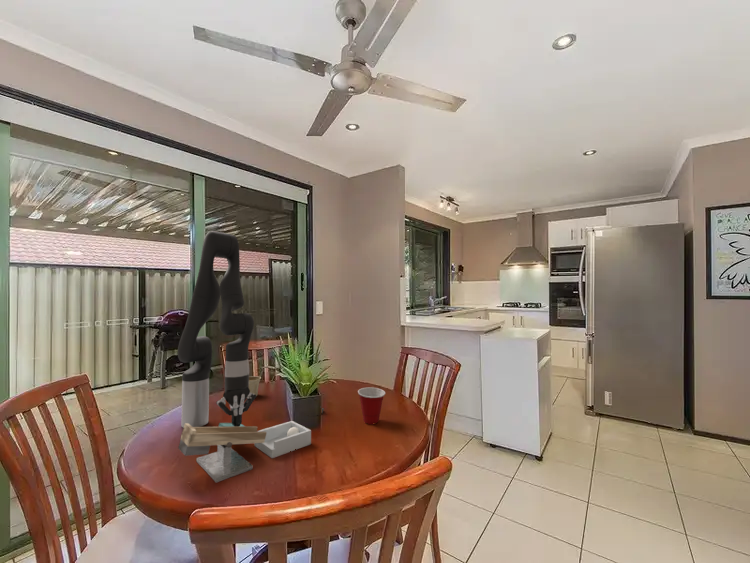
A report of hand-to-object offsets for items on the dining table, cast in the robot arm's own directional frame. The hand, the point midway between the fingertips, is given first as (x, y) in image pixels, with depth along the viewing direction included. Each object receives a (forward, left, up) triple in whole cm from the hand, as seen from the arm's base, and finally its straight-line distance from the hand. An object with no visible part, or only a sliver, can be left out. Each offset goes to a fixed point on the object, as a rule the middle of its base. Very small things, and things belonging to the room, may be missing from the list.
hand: (236, 425), depth 112 cm
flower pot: (-49, +27, -6) cm, 56 cm away
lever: (+5, -9, -1) cm, 10 cm away
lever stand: (+11, -8, -6) cm, 15 cm away
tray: (+11, +11, -6) cm, 17 cm away
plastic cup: (+17, +46, -6) cm, 49 cm away
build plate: (-8, +37, -7) cm, 38 cm away
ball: (+11, +15, -4) cm, 19 cm away
